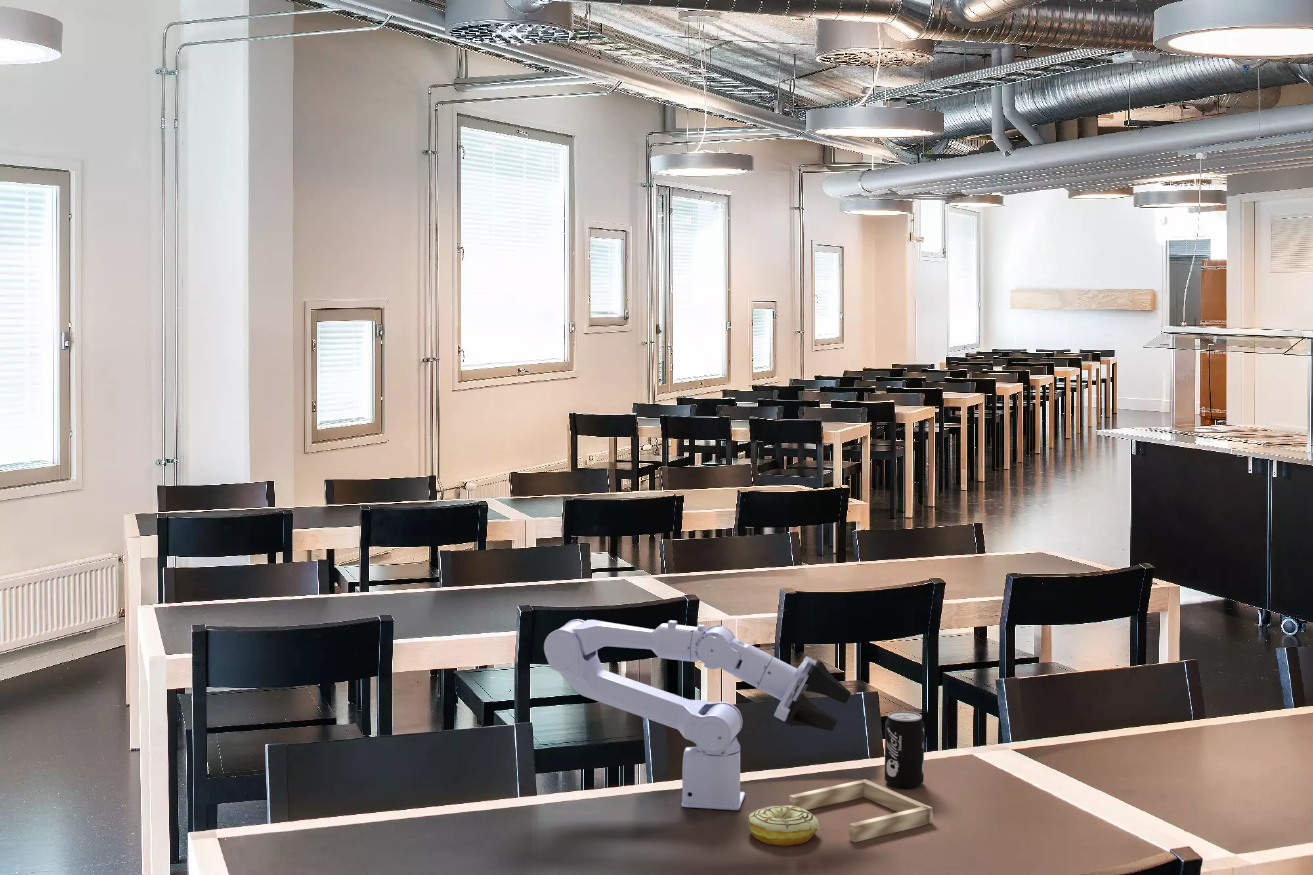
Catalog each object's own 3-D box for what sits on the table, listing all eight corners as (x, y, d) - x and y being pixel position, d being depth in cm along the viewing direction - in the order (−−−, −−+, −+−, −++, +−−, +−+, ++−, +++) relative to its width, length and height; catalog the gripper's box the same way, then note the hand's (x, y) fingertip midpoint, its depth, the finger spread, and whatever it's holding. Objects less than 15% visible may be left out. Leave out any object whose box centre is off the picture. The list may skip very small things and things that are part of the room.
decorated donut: (831, 835, 211) (832, 811, 211) (789, 854, 203) (789, 829, 203) (777, 819, 218) (778, 796, 218) (735, 837, 210) (735, 813, 210)
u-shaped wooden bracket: (854, 842, 207) (854, 826, 207) (789, 810, 221) (789, 795, 221) (932, 823, 215) (932, 807, 215) (864, 793, 229) (865, 779, 229)
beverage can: (923, 791, 231) (924, 721, 230) (883, 788, 232) (884, 719, 231) (923, 779, 237) (924, 711, 236) (885, 776, 238) (886, 709, 237)
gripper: (758, 680, 214) (836, 721, 211) (788, 630, 225) (863, 668, 223) (744, 711, 217) (822, 752, 215) (774, 660, 229) (848, 698, 226)
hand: (842, 711), depth 219 cm, fingers open, 7 cm apart
